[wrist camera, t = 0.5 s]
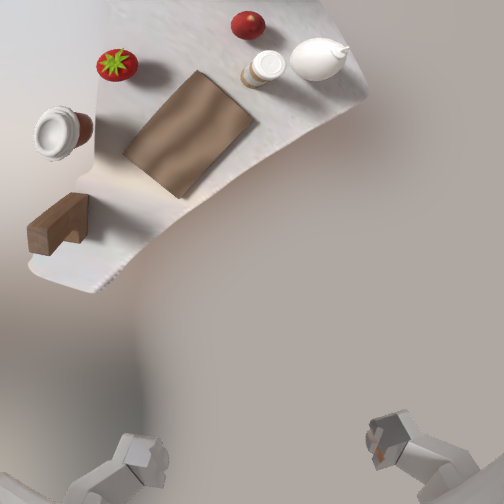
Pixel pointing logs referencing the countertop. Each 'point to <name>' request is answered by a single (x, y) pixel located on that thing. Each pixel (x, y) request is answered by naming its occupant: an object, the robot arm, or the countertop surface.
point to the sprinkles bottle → (263, 69)
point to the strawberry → (117, 65)
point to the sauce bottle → (318, 58)
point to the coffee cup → (61, 132)
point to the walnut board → (187, 134)
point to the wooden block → (59, 225)
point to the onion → (248, 25)
